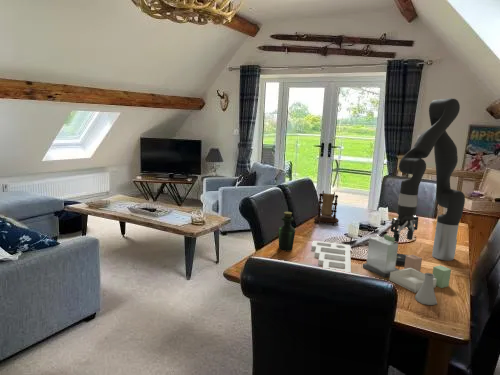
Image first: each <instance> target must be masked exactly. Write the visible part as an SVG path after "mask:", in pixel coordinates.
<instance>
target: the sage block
mask: <svg viewBox="0 0 500 375" xmlns="http://www.w3.org/2000/svg"><path fill="white" fill-rule="evenodd" d="M451 272H452V269H451V268H449V267H446V266H443V265H440V264H439V265H436V266H433V268H432V273H431V274H433V275H434V276H435V277H434V278H436V279H437V281H436V287H438V288H440V289H443V288H448V287H449V284H450V280H451Z"/></svg>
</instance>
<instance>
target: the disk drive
mask: <svg viewBox="0 0 500 375" xmlns="http://www.w3.org/2000/svg"><path fill="white" fill-rule="evenodd" d="M408 255H409V254H403V253H397V258H396V265H395V266H402V267H404V266H405V259H406V256H408Z"/></svg>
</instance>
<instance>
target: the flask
mask: <svg viewBox="0 0 500 375" xmlns="http://www.w3.org/2000/svg"><path fill="white" fill-rule="evenodd" d="M424 274H425V279H424V282H423V284H422V286H421V288H420V289H419V291H418V292H416V294H415V295H414V298H415V300H416V301H417V302H419V303H420V304H422V305H427V306H435V305H438V301H437V296H436V293H435V288H433V278H434V277H435V276H434V275H433V274H432V273H431V272H430V273H429V272H425V273H424Z"/></svg>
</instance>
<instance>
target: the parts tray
mask: <svg viewBox="0 0 500 375" xmlns="http://www.w3.org/2000/svg"><path fill="white" fill-rule="evenodd" d="M424 279H425V273H424V272H421V271H420V272H419V271H417V270H415V269H412V268H407V269H404V268H403V269H399V270H397V271H393V272H390V277H389V281H390V282H393V283H394V284H397V285H398V286H401V287H403V288H404V289H406V290H408V291H411V292H412V293H416V294H417V292H418V291H419V289H420V288H421V286H422V284H423V282H424ZM436 281H437V279H436V278H433V288H434V289H436V287H437V286H436Z"/></svg>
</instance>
